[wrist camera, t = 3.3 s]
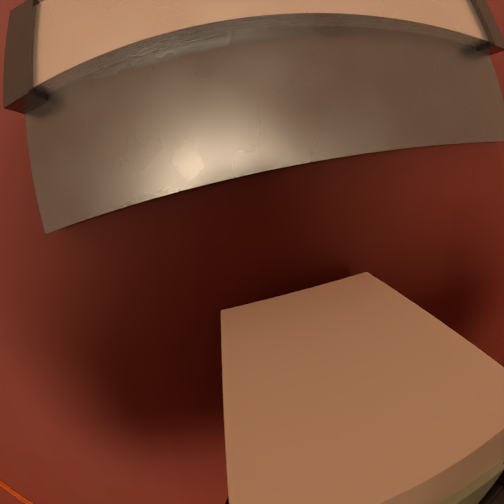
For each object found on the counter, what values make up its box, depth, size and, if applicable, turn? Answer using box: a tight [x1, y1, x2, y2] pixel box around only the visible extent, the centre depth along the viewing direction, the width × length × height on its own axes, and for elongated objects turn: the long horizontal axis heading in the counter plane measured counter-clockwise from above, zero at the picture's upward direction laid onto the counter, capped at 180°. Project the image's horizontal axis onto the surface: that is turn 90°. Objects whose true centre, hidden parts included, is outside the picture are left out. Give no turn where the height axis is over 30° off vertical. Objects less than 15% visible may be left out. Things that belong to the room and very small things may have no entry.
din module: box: [221, 272, 504, 504], centre depth 6 cm, size 4×9×7 cm, turn 13°
